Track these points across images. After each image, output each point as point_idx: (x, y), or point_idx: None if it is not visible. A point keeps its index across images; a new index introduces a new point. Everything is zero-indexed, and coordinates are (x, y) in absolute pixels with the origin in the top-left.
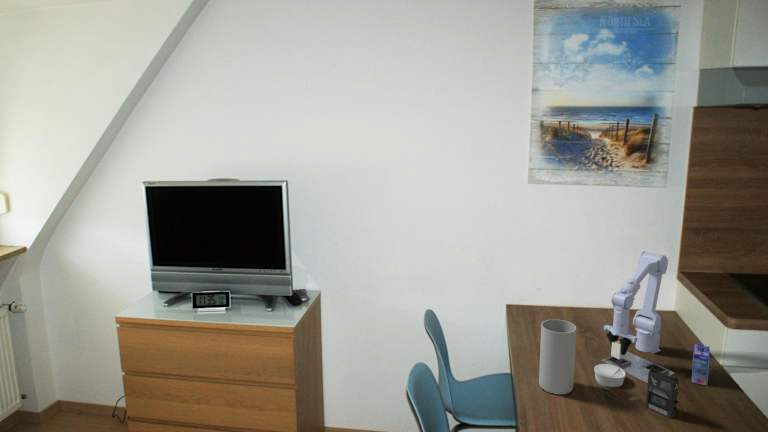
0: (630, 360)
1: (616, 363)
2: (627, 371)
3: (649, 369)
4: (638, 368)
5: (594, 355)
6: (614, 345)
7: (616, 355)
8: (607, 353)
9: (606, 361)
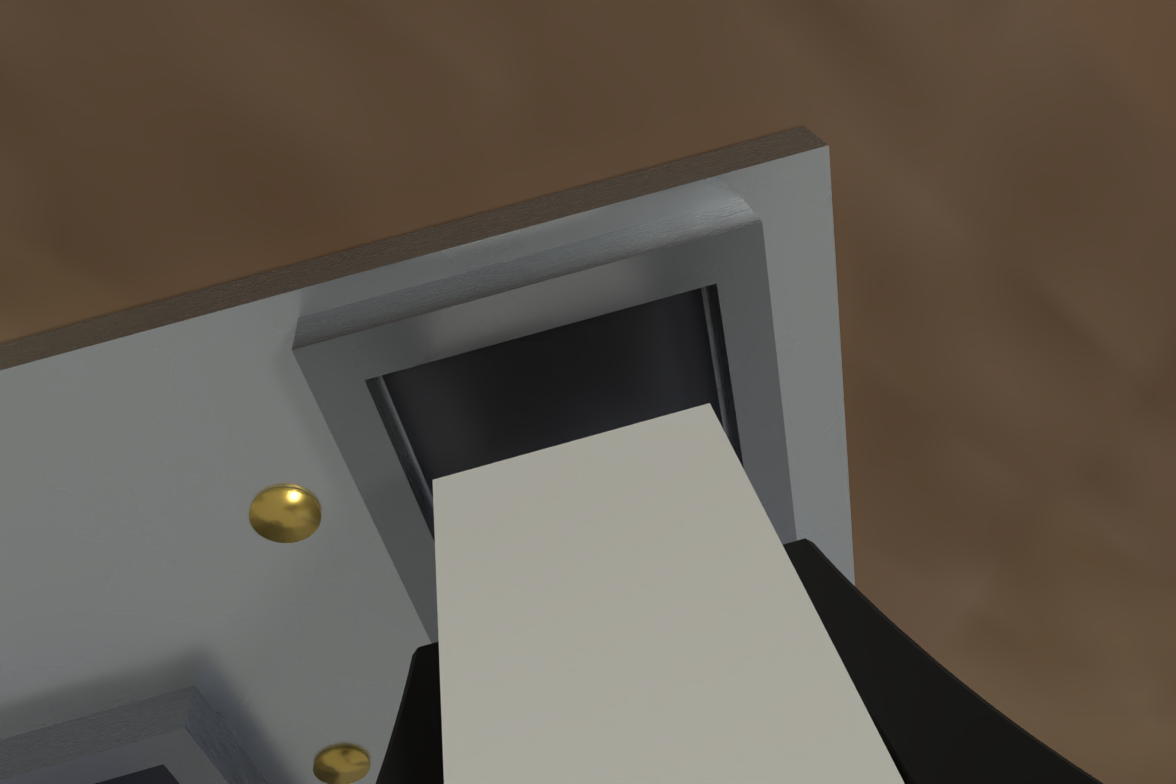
0: None
1: (446, 355)
2: (107, 405)
3: (169, 781)
4: (236, 654)
5: (1109, 181)
6: (727, 739)
7: (538, 505)
8: (1011, 468)
9: (694, 216)
